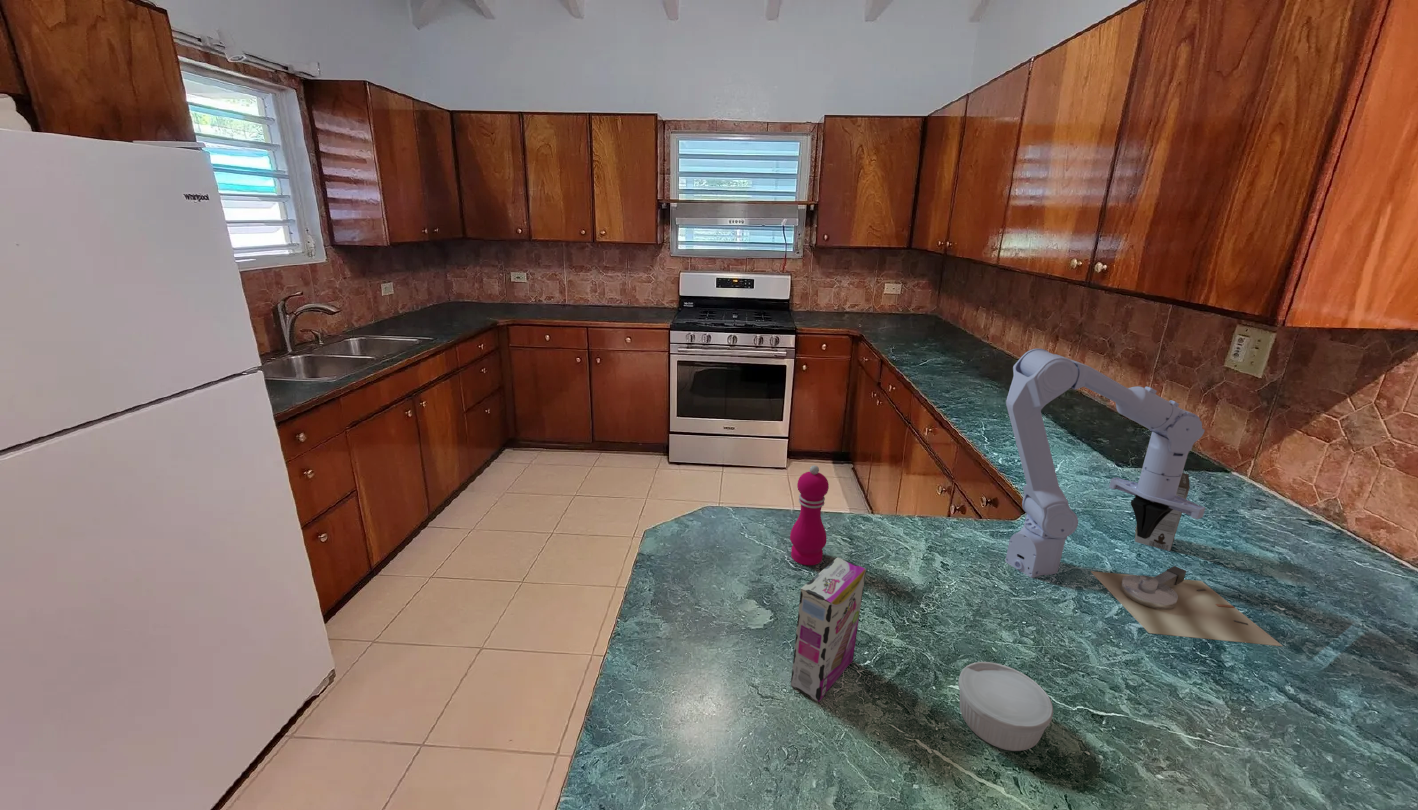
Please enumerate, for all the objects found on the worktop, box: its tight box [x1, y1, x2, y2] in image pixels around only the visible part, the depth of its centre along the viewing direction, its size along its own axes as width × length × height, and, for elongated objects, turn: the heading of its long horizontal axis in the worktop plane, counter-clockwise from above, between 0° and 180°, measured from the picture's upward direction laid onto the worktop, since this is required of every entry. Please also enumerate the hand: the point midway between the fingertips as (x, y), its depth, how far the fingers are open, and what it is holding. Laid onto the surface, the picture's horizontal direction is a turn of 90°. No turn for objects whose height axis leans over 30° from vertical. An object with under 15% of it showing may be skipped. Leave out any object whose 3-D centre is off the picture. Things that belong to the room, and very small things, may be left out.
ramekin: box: [958, 661, 1054, 752], centre depth 74 cm, size 11×11×5 cm
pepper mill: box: [789, 464, 829, 566], centre depth 110 cm, size 7×7×20 cm
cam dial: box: [1121, 565, 1187, 610], centre depth 102 cm, size 15×8×4 cm, turn 118°
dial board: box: [1090, 570, 1283, 647], centre depth 99 cm, size 20×18×1 cm
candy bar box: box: [790, 556, 867, 703], centre depth 80 cm, size 11×5×16 cm, turn 141°
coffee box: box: [1134, 472, 1191, 552], centre depth 120 cm, size 9×6×16 cm
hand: (1143, 536), depth 106 cm, fingers closed
